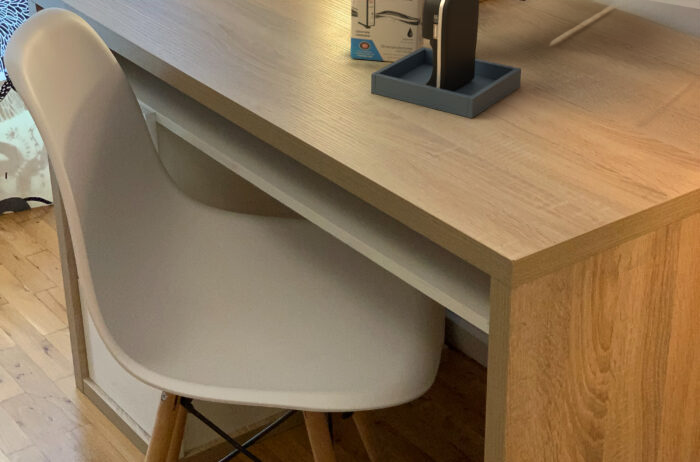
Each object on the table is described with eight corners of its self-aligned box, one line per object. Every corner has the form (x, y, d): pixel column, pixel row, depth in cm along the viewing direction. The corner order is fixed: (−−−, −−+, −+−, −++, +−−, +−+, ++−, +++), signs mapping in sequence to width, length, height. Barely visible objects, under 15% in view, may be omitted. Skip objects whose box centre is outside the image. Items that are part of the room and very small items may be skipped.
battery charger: (448, 73, 126) (453, -23, 121) (476, 80, 124) (482, -18, 119) (415, 90, 121) (418, -9, 116) (443, 98, 119) (447, -3, 114)
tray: (520, 87, 124) (521, 68, 122) (472, 118, 116) (473, 98, 114) (422, 64, 130) (423, 46, 129) (370, 92, 122) (370, 73, 121)
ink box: (349, 59, 132) (348, -36, 126) (358, 46, 136) (358, -47, 131) (417, 64, 130) (420, -32, 125) (424, 51, 134) (427, -43, 129)
